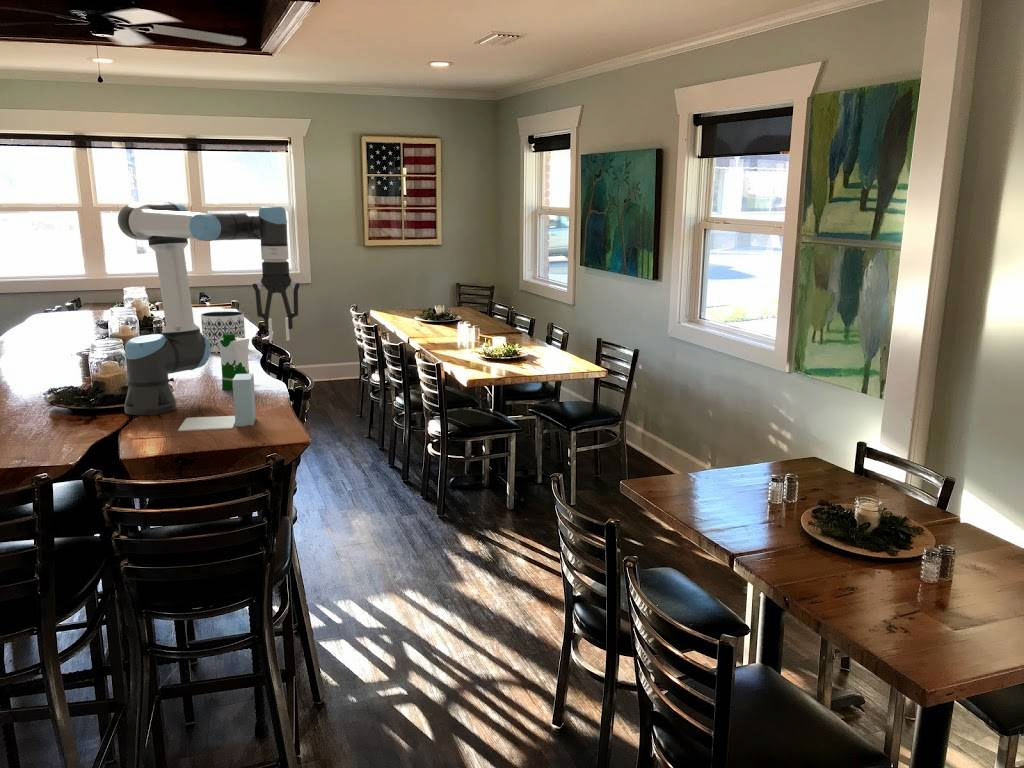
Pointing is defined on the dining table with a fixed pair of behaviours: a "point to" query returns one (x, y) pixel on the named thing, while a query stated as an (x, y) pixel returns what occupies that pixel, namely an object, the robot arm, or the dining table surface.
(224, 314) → the planter
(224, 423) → the mat
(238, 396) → the slab
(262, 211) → the robot arm
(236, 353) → the milk carton
